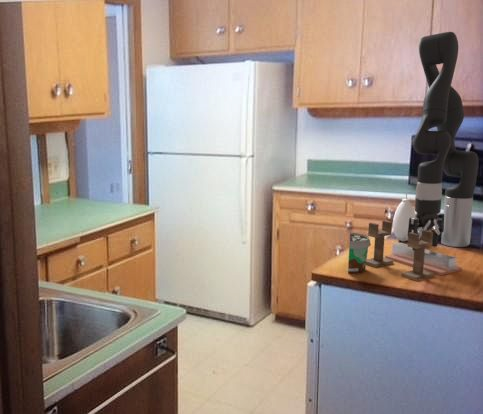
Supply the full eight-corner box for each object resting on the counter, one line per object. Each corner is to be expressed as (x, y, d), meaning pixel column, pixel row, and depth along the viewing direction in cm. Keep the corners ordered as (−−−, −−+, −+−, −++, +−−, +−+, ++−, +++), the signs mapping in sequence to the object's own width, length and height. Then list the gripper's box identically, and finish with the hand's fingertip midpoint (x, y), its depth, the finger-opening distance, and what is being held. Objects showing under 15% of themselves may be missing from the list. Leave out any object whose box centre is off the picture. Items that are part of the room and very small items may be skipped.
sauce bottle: (418, 242, 195) (422, 193, 192) (399, 243, 193) (402, 194, 190) (407, 237, 202) (410, 190, 199) (388, 238, 201) (391, 190, 197)
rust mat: (405, 253, 180) (406, 251, 180) (461, 270, 163) (462, 267, 163) (385, 258, 175) (385, 255, 175) (440, 275, 158) (440, 272, 157)
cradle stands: (380, 259, 173) (383, 219, 171) (433, 276, 157) (437, 232, 154) (363, 263, 169) (365, 222, 166) (415, 280, 152) (418, 235, 150)
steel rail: (399, 252, 178) (400, 242, 178) (455, 269, 161) (456, 257, 161) (392, 254, 176) (392, 243, 176) (447, 270, 159) (448, 259, 159)
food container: (369, 276, 156) (371, 243, 154) (347, 275, 157) (349, 241, 155) (368, 264, 167) (370, 233, 166) (348, 263, 169) (350, 232, 167)
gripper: (432, 193, 172) (429, 242, 175) (402, 197, 164) (399, 249, 167) (453, 196, 166) (449, 247, 169) (423, 201, 158) (420, 254, 161)
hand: (424, 248), depth 168 cm, fingers open, 8 cm apart
